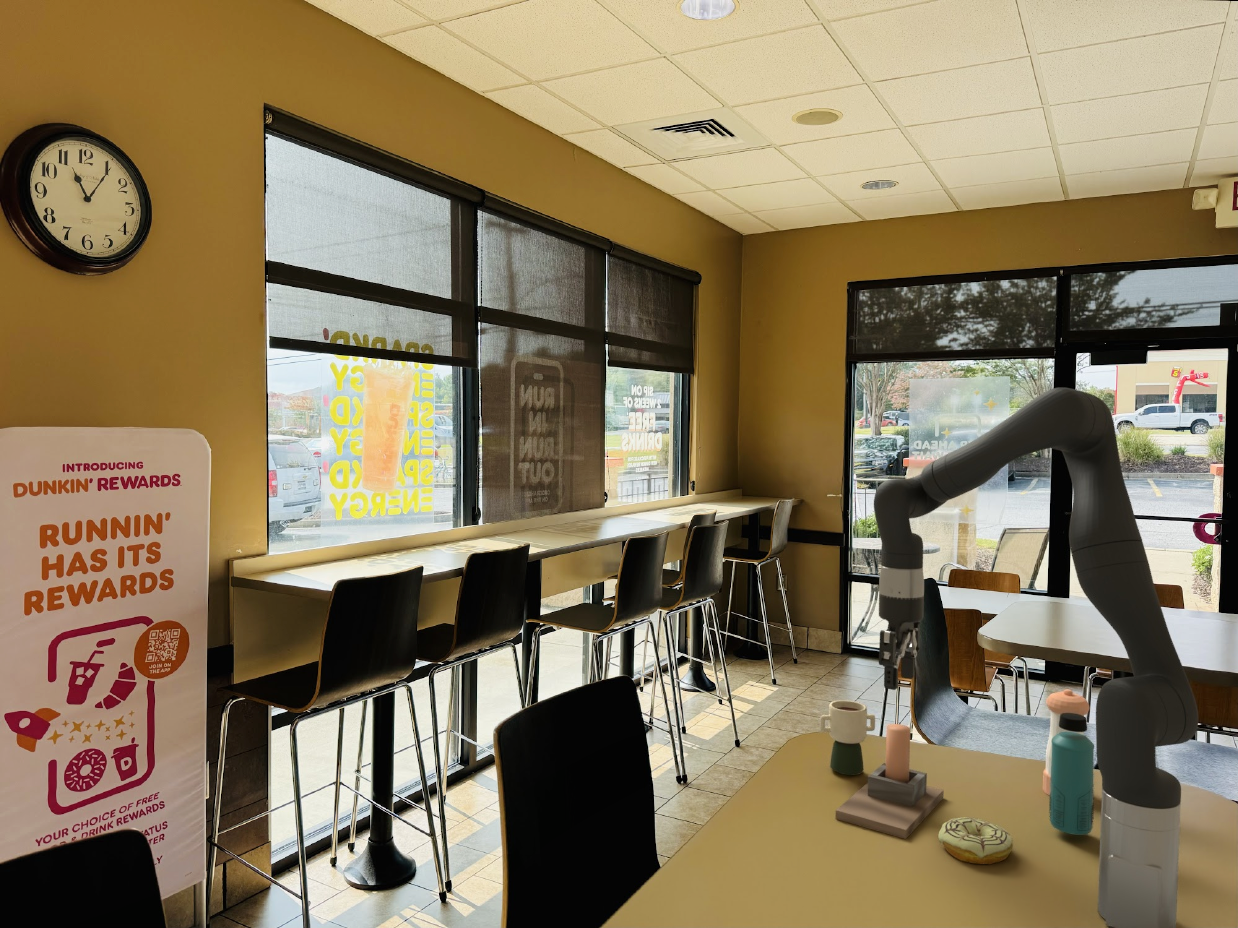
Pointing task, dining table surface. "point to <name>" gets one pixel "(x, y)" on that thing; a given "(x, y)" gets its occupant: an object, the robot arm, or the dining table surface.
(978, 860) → the decorated donut
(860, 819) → the holder
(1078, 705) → the pepper shaker
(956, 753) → the dining table surface
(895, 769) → the peg
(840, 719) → the character mug
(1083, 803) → the beverage bottle
